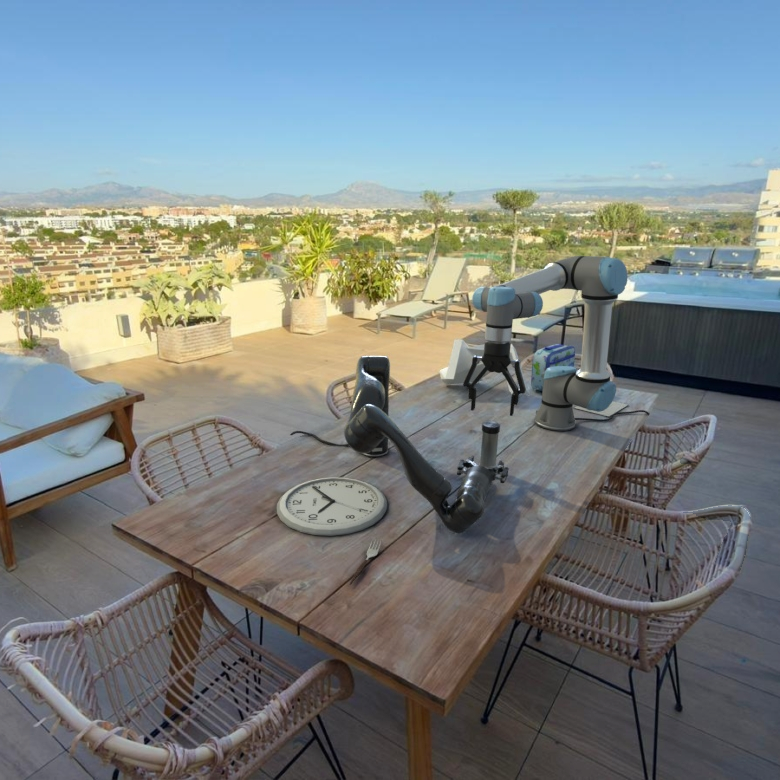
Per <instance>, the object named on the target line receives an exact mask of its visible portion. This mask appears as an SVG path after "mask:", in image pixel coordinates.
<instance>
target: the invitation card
mask: <svg viewBox="0 0 780 780" xmlns="http://www.w3.org/2000/svg"><path fill="white" fill-rule="evenodd" d="M628 406H629V404H627V403H623V402H618V401H614V400H613V401H612V403H611V404H610V405H609V407H608V408H607V409H605V410H604V411H601V412H597V411H593V410H588V409H586V408H582V407H579V406H576V405H575V406H574V407H573V409H575V410H581V411H584V412H587V413H593V414H596V415H600V416H604V417H608V418H610V417H611V415H612V414H615V413H619V412H620V411H621V410H623V409H624V408H626V407H628Z"/></svg>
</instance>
